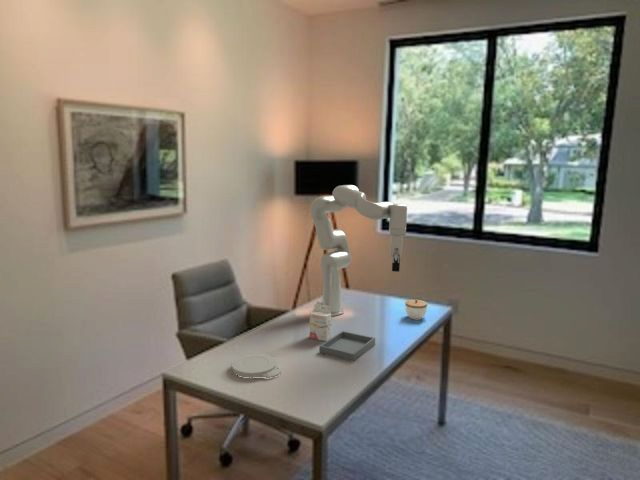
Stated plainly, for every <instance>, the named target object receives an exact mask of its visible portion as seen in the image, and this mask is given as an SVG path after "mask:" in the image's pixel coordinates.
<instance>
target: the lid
mask: <svg viewBox="0 0 640 480" xmlns="http://www.w3.org/2000/svg"><path fill="white" fill-rule="evenodd" d="M277 364H278V361H277V359H276V358H275V357H274V356H272V355H269V354H266V353H258V352H257V353H255V352H254V353H247V354H243V355H240V356H237V357H236V358H234V359H233V360H232V361H231V364H230V365H231V369H232V373H233V372H234V373H235V374H237V375H239V376H242V377H249V378H250V377H251V378H253V377H266V378H270V377H275V376H278V375H279V374H280V373H281V374H282V368H281V367H280V366H278V365H277ZM234 373H233V374H234ZM235 374H234V375H235ZM281 374H280V375H281ZM280 375H279V376H280ZM279 376H278V377H279Z"/></svg>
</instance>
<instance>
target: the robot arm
mask: <svg viewBox="0 0 640 480" xmlns="http://www.w3.org/2000/svg"><path fill="white" fill-rule="evenodd" d="M331 193H332V195H322V196H319V197H316V198H315V199H314V200H313V201H312V202H311V205H310V208H309V209H310V210H309V211H310V215H311V218H312V221H313V224H314V228H315V232H316V237H317V240H318V244H319V247H320V249H322V250H324V251H329V250H333V249H334V251H329V252H326V253H324V254H322V256H321V257H320V268H321V275H322V276H321V277H322V283H321V284H322V289H321V290H322V291H321V292H322V299H321V300H322V301H316V304H318V305H324V306H330V307H331V317H332V316H333V317H335V316H341V315H343V314H344V308H342V277H341V274H340V271H339V270H341V269H346V268H347V267H349V266H350V265H351V263H352V254H351V251H350V245H349V241H348V239H347V238H348V237H347V235H346V234H345V232H344V231H343V230H341V229H334V228H333V225H332V221H331V219H330V217H329V216H328V215H327V214H328V213H335V212H336V213H337V212H341V211H342V210H344V209H346V208H347V207H349V208H352V209H354V210H356V212H357V213H358V214H359V215H361V216H363V217H366V218H368V219H371V220H374V221H378V220H384V219H389V225H388V235H389V236H390V245H389V246H390V248H389V249H390V250H389V251H390V252H389V257H390V258H392V264H391V271H392V272H395V273H396V272H398V273H400V266H401V257H402V253H403V245H404V244H403V243H404V242H403V241H404V236H407V221H408V220H407V217H408V206H407V205H406V204H405V203H394V202H391V201H381V202H373V201H370V200H367V195H366V194H365V192H362V191H359V188H358V187H357V186H356V185H353V184H343V185H338V186H336V187H335V188H334V189H333V191H332V192H331ZM320 309H325V308H323V307H320Z"/></svg>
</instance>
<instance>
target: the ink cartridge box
mask: <svg viewBox="0 0 640 480" xmlns="http://www.w3.org/2000/svg"><path fill="white" fill-rule="evenodd" d="M321 307H323V308H325V309H320V308H321ZM331 333H332V316H331V307H330V306H324V305H318V304H317V303H314V310H312V311H311V312H310V313H309V339H314V340H318V341H324V342H326V341H328V340H329V339H331V338H332V336H331V335H332V334H331Z"/></svg>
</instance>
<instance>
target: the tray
mask: <svg viewBox="0 0 640 480" xmlns="http://www.w3.org/2000/svg"><path fill="white" fill-rule="evenodd" d="M375 345H376V337H374V336H367V335H363V334H359V333H355V332H349V331H345V330H341V331H340V332H338V333H337V334H335V335H334V336H331V338H329V339H328V340H327V341H324V342H323V343H322V344H320V345H319V346H318V347H319V350H318V352H319V354H322V353H323V355H326V354H327V356H331V357H334V356H335V357H336V358H338V357H339V358H338V359H343V360H345V361H349V362H350V361H351V362H355V361H356V360H358V359H359V358H361V357H362V356H363V355H364V354H365V353H367V352H368V351H369V350H370V349H372V348H373V347H374V346H375Z"/></svg>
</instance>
